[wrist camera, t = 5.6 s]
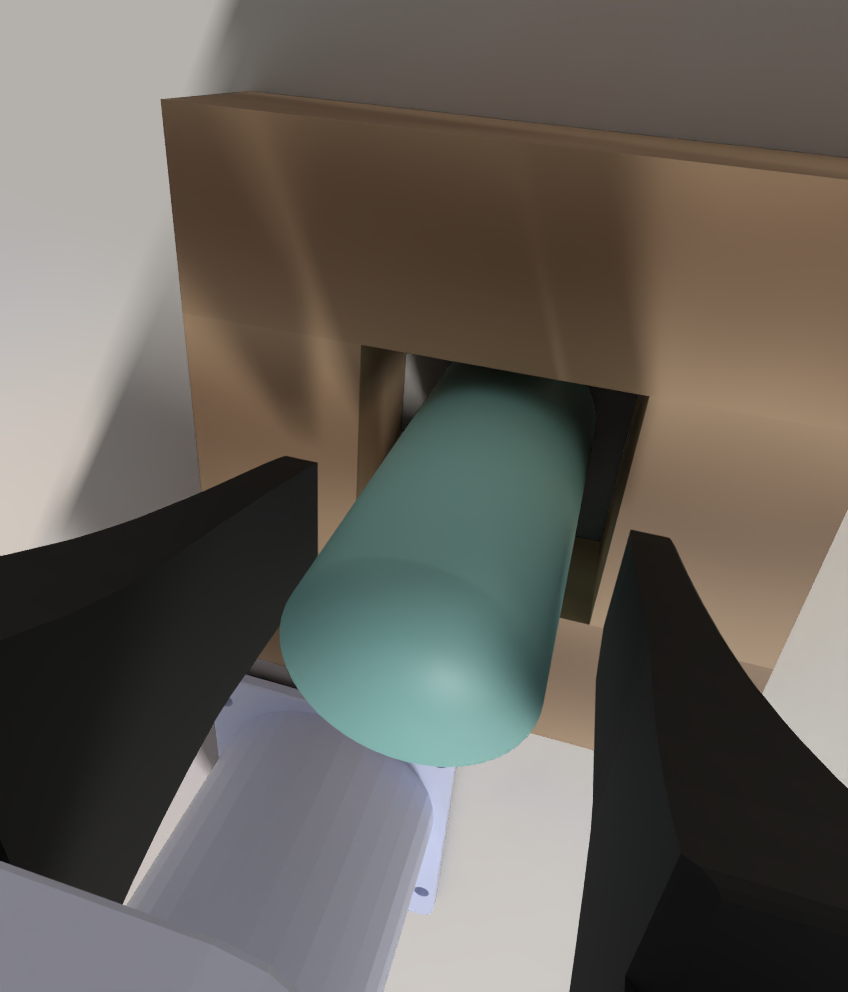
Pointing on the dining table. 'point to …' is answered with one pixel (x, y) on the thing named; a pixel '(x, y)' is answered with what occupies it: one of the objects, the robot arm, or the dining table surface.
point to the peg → (449, 573)
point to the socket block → (530, 327)
